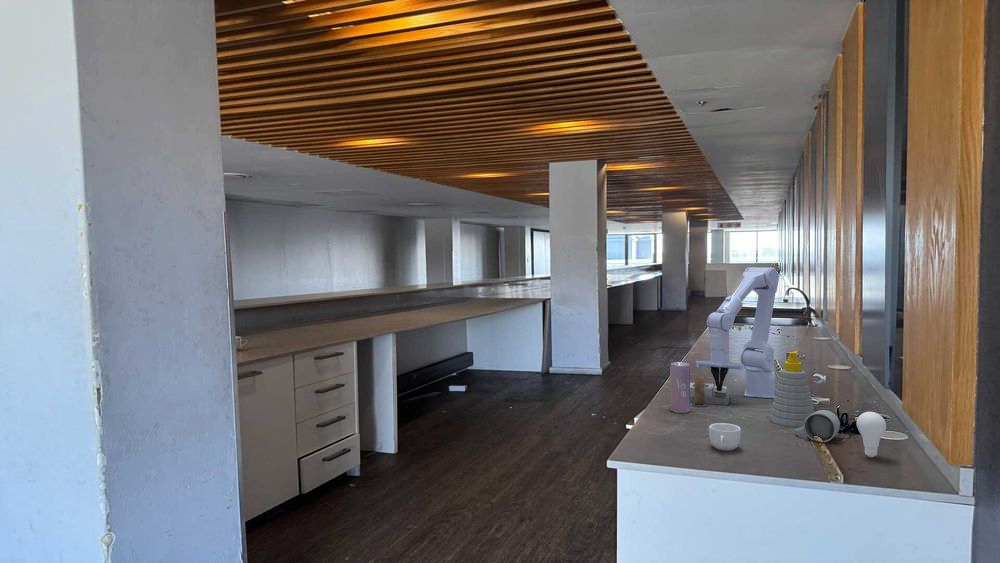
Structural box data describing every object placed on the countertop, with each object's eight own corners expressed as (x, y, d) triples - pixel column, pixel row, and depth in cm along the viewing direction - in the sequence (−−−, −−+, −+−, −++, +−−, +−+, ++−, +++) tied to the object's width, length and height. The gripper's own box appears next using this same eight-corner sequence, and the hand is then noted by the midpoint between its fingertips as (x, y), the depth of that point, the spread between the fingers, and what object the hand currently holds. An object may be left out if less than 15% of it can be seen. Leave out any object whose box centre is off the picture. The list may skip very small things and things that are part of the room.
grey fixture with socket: (729, 397, 214) (729, 384, 213) (728, 405, 204) (728, 391, 203) (690, 394, 219) (690, 381, 219) (686, 402, 209) (686, 388, 208)
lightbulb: (850, 453, 154) (851, 409, 153) (874, 452, 154) (874, 408, 154) (867, 462, 148) (867, 415, 147) (891, 460, 148) (892, 414, 148)
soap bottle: (822, 420, 183) (822, 351, 182) (808, 430, 174) (808, 357, 173) (778, 413, 192) (778, 347, 191) (763, 422, 183) (763, 353, 182)
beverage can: (688, 408, 200) (687, 361, 199) (691, 413, 194) (691, 365, 193) (668, 408, 201) (668, 362, 200) (672, 413, 195) (671, 365, 194)
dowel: (704, 403, 204) (704, 376, 204) (704, 405, 202) (704, 378, 201) (694, 403, 205) (694, 375, 205) (694, 405, 202) (694, 377, 202)
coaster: (707, 404, 205) (707, 403, 205) (706, 407, 201) (706, 406, 201) (693, 403, 207) (692, 402, 207) (691, 406, 202) (691, 405, 202)
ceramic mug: (841, 437, 167) (841, 408, 167) (835, 445, 161) (835, 415, 161) (798, 431, 174) (798, 404, 174) (791, 438, 167) (790, 410, 167)
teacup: (711, 442, 165) (711, 421, 165) (742, 445, 162) (742, 424, 162) (705, 453, 157) (705, 431, 156) (738, 457, 153) (738, 435, 153)
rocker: (726, 390, 212) (726, 386, 212) (725, 392, 206) (725, 388, 206) (715, 389, 213) (715, 385, 213) (713, 391, 207) (713, 388, 207)
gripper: (695, 349, 204) (694, 390, 205) (743, 351, 199) (742, 394, 199) (697, 346, 211) (696, 387, 211) (743, 349, 205) (743, 390, 206)
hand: (719, 390), depth 206 cm, fingers closed, pressing on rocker
